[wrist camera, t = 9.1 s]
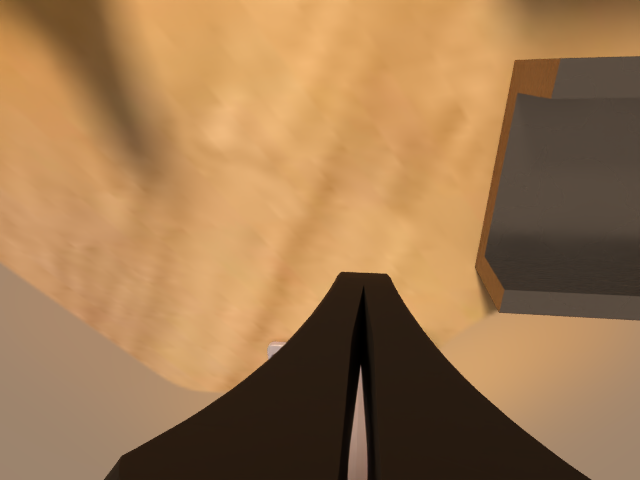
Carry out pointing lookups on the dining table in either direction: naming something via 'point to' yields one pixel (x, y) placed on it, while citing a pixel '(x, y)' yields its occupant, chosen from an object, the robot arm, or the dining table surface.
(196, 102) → the dining table surface
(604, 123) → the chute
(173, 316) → the dining table surface
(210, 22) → the dining table surface
